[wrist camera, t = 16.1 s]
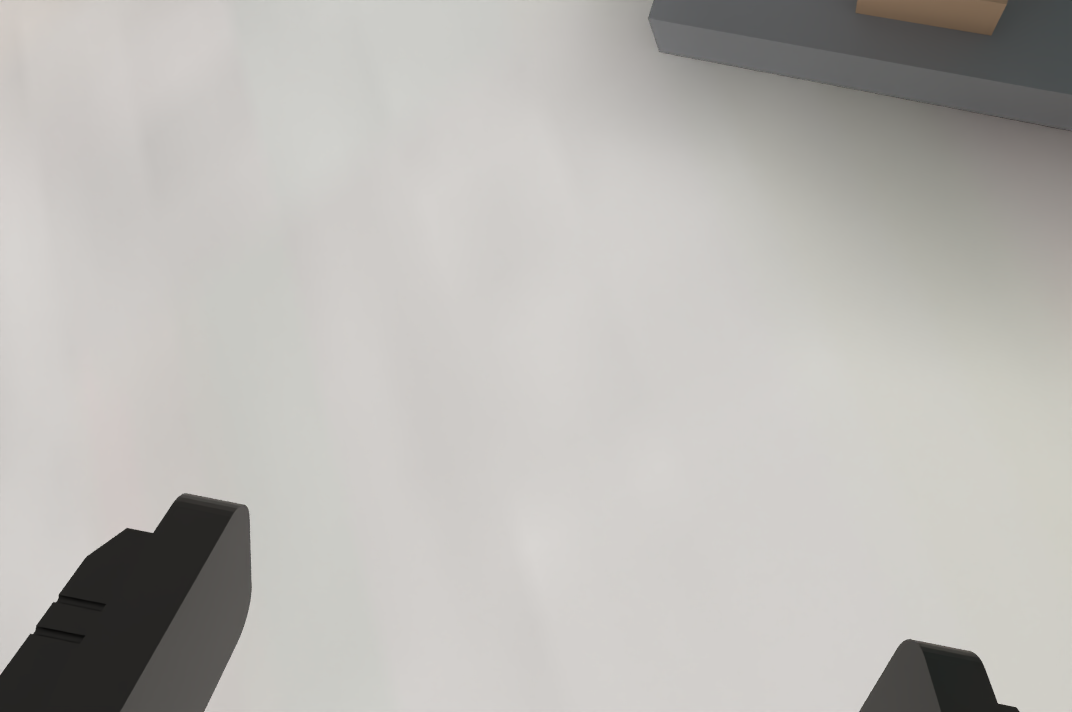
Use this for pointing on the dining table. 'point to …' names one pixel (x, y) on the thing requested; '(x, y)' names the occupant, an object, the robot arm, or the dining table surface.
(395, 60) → the dining table surface
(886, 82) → the display stand
